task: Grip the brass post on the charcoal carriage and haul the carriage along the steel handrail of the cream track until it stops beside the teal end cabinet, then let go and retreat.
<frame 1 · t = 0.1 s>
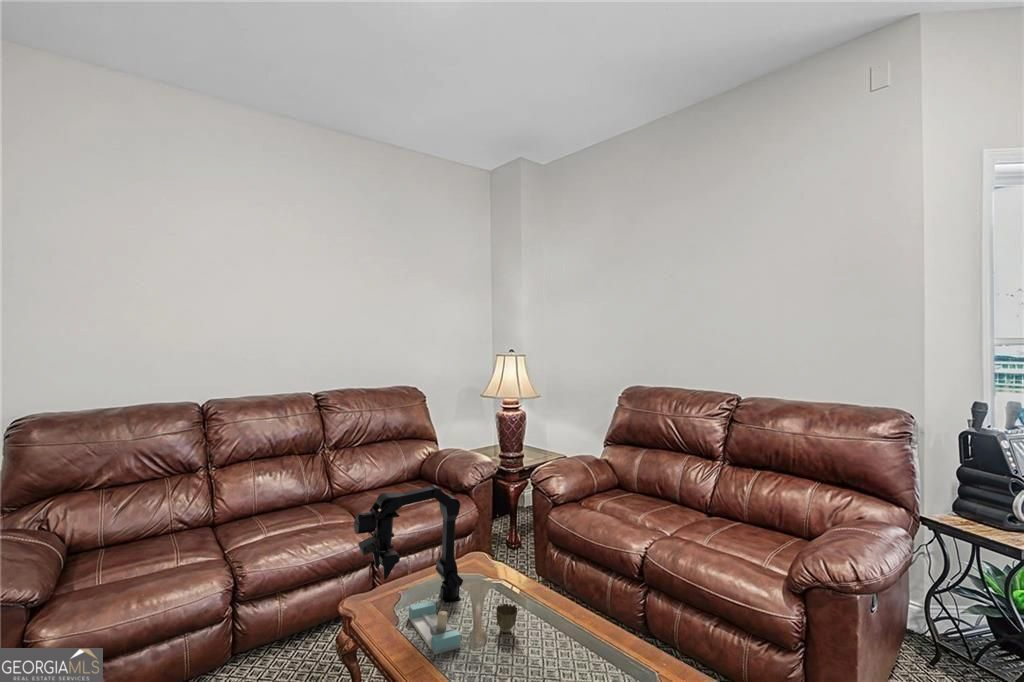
hand: (381, 573, 187), 15 cm above the table, fingers open, 9 cm apart
rail track: (433, 632, 179), on the table
cup: (505, 631, 183), on the table
carriage: (441, 625, 173), point 6 cm above the table, slide at 0.0 cm
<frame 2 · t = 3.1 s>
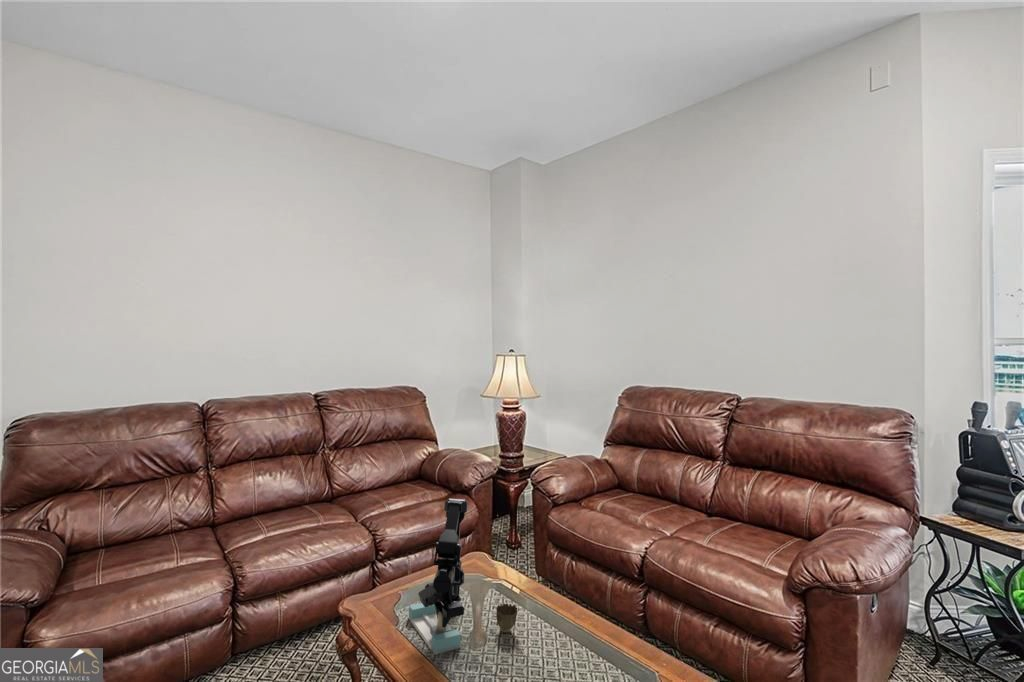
hand: (441, 624, 173), 6 cm above the table, fingers closed on carriage, 3 cm apart
carriage: (441, 625, 173), point 6 cm above the table, slide at 0.0 cm, touching gripper
everything else where it was.
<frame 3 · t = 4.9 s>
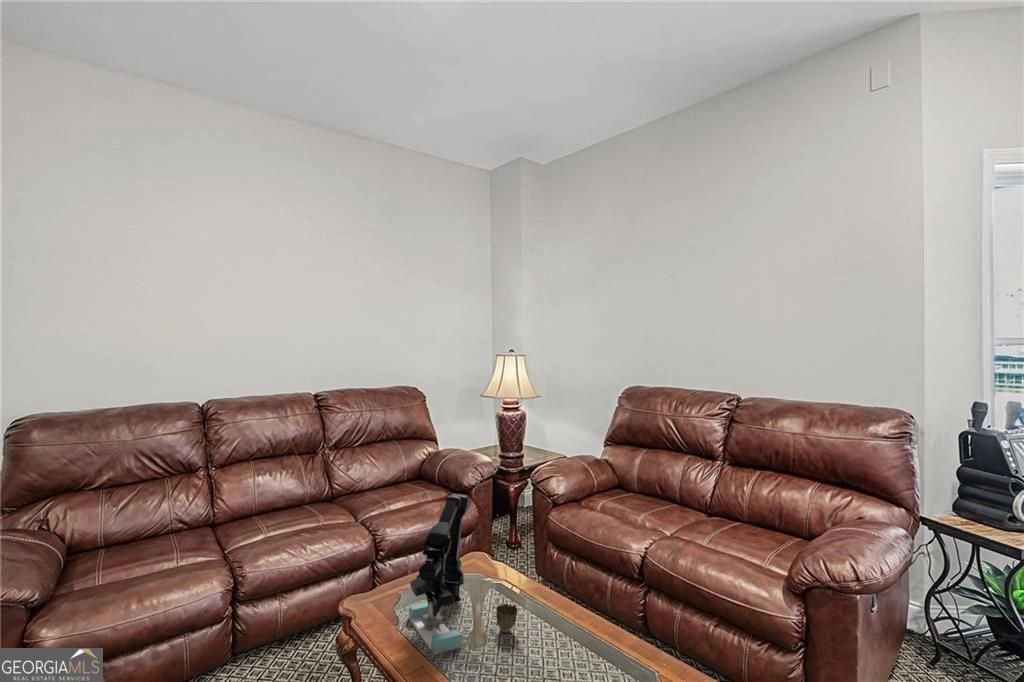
hand: (432, 613, 180), 6 cm above the table, fingers closed on carriage, 3 cm apart
carriage: (432, 613, 180), point 6 cm above the table, slide at 7.5 cm, touching gripper
everything else where it was.
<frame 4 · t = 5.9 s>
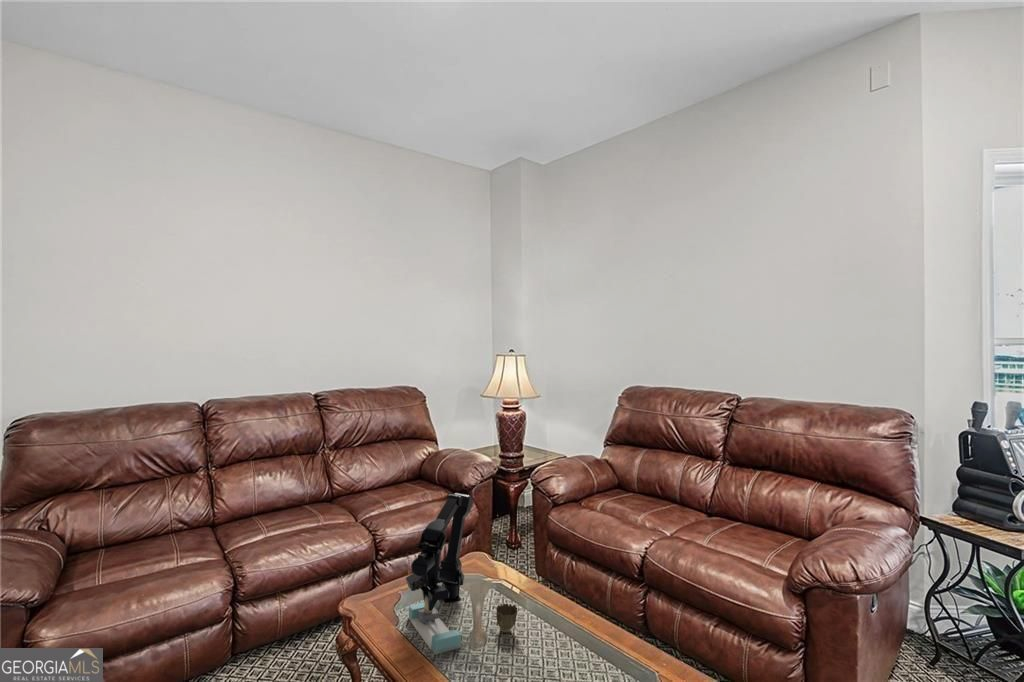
hand: (428, 608, 183), 6 cm above the table, fingers closed on carriage, 3 cm apart
carriage: (428, 608, 183), point 6 cm above the table, slide at 11.3 cm, touching gripper
everything else where it was.
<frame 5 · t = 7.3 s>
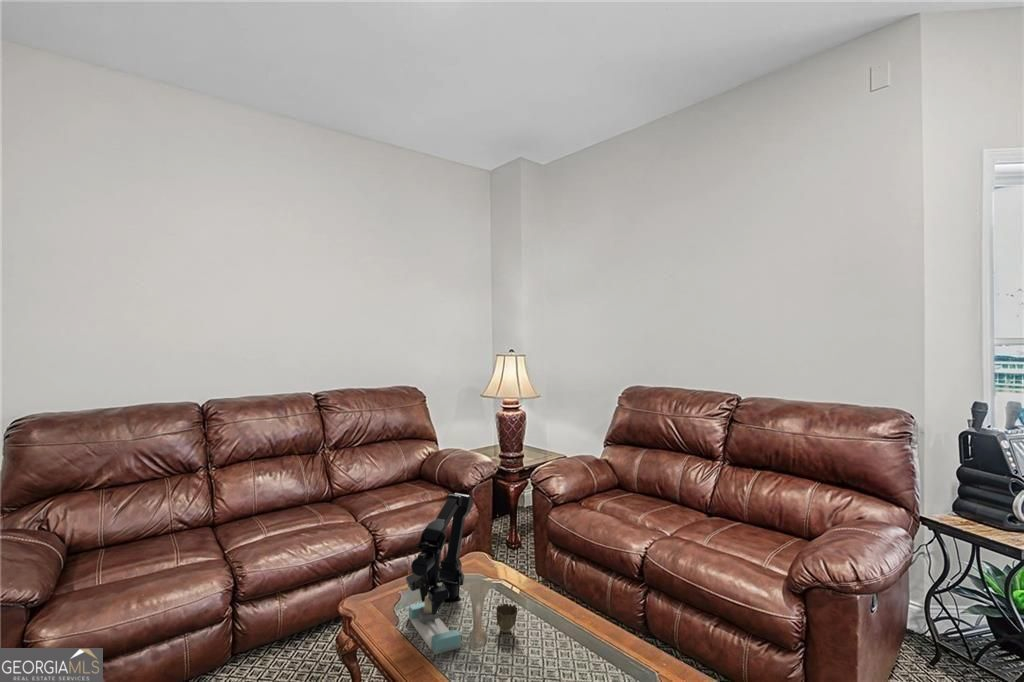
hand: (428, 608, 183), 6 cm above the table, fingers open, 9 cm apart
carriage: (428, 608, 183), point 6 cm above the table, slide at 11.3 cm
everything else where it was.
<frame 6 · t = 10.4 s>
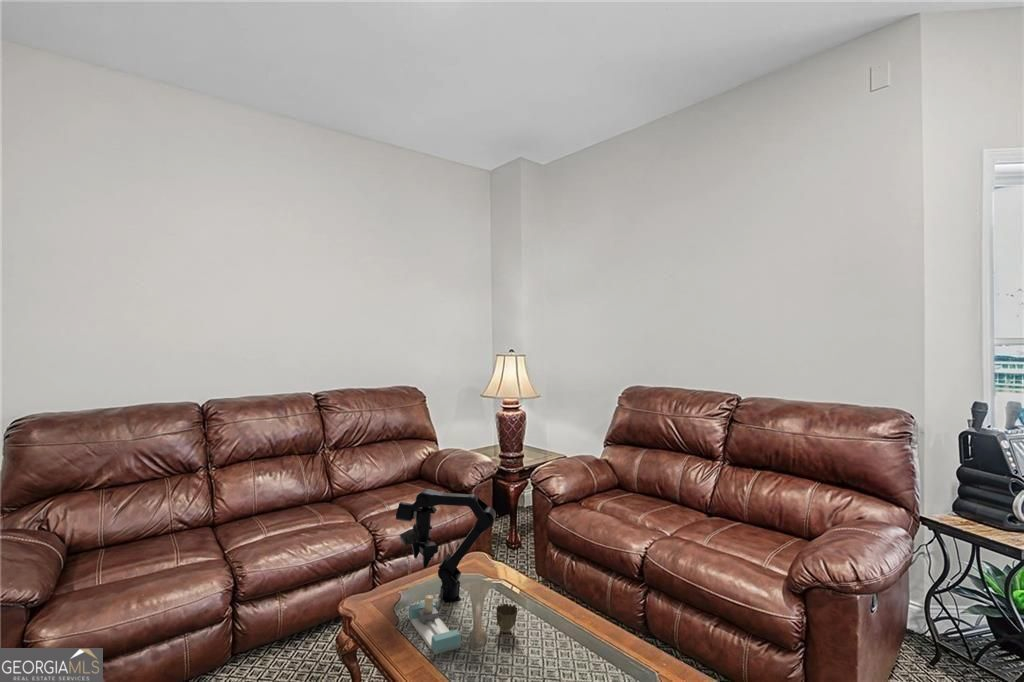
hand: (420, 562, 203), 12 cm above the table, fingers open, 9 cm apart
nothing on the table moved.
at the end: carriage slide at 11.3 cm; the gripper is holding nothing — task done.
